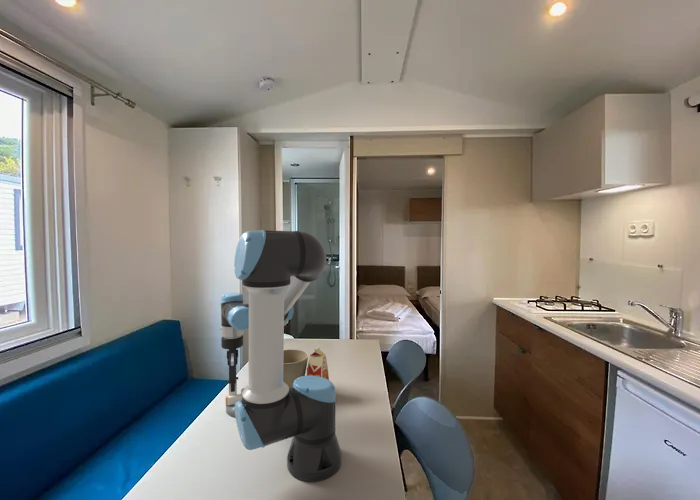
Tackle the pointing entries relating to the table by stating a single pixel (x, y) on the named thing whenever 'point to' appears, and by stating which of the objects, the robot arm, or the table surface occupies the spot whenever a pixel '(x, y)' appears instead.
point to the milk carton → (318, 364)
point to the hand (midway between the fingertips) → (232, 398)
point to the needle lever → (233, 398)
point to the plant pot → (294, 365)
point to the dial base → (230, 410)
